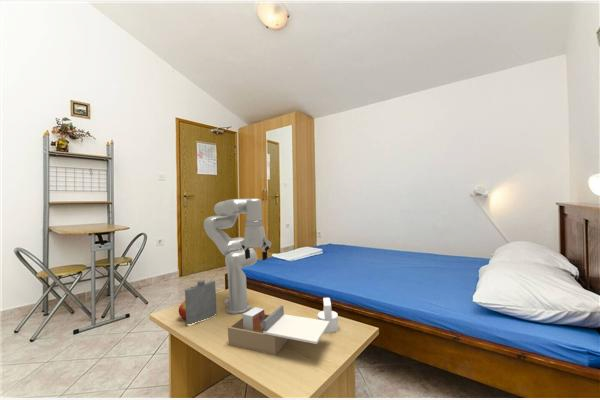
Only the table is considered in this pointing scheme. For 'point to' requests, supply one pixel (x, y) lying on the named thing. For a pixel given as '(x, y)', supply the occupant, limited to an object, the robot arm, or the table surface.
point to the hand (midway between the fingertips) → (256, 259)
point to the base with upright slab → (329, 316)
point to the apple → (182, 310)
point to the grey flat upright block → (200, 301)
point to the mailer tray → (254, 339)
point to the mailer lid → (294, 327)
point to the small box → (254, 320)
